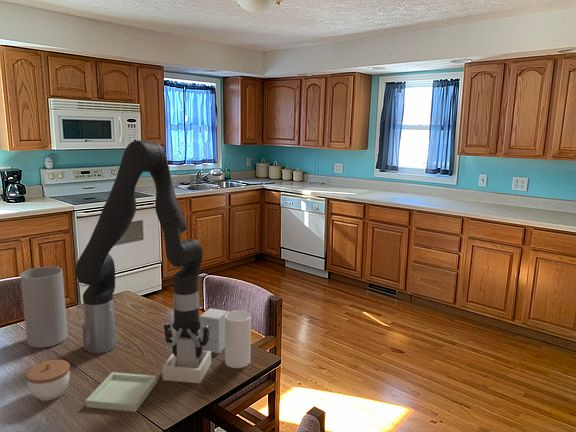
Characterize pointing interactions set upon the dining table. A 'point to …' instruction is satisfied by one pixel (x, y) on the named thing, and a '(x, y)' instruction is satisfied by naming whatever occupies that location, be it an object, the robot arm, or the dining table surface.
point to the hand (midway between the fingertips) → (187, 355)
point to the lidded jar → (48, 379)
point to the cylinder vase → (44, 306)
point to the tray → (122, 392)
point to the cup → (237, 338)
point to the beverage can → (186, 353)
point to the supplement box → (214, 329)
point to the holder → (186, 369)
